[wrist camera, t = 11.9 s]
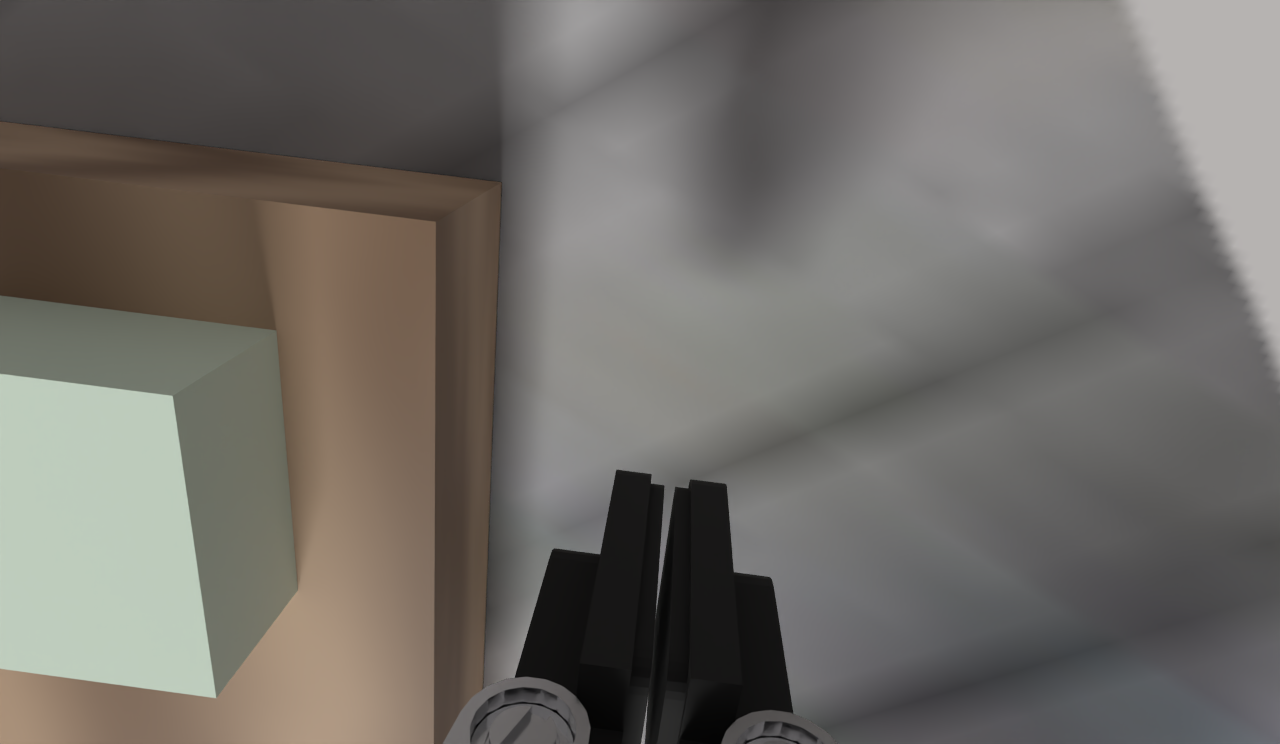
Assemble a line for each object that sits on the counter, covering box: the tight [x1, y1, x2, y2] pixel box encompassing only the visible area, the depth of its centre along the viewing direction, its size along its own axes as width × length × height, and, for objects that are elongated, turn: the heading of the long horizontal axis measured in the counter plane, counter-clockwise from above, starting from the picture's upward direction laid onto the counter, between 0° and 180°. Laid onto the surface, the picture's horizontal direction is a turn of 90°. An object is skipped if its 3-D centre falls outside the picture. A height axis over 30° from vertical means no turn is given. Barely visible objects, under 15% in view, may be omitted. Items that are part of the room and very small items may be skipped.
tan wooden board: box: [0, 121, 502, 744], centre depth 16 cm, size 12×18×4 cm, turn 174°
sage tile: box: [0, 296, 298, 698], centre depth 11 cm, size 5×5×2 cm
